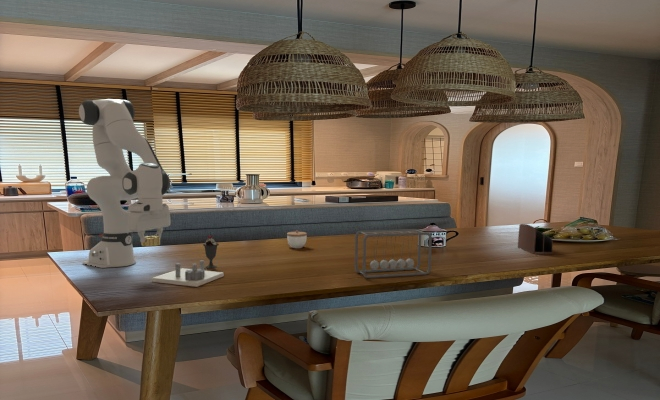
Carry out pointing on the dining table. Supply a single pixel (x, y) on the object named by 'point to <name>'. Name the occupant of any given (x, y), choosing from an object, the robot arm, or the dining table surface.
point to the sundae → (210, 250)
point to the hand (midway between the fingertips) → (150, 240)
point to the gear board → (188, 276)
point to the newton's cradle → (392, 263)
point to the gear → (151, 241)
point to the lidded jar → (296, 239)
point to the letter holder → (534, 240)
